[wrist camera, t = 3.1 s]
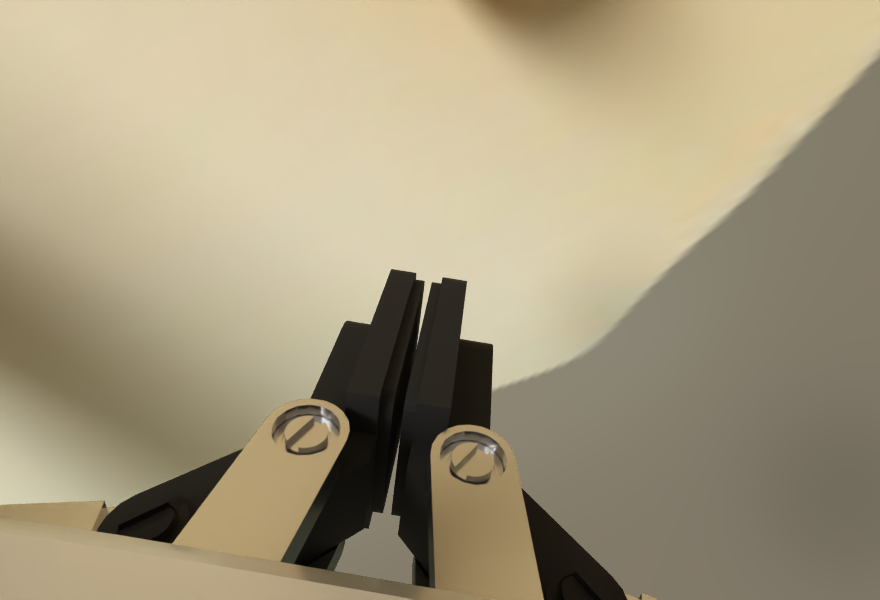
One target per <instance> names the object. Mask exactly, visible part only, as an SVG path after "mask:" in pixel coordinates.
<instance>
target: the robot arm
mask: <svg viewBox="0 0 880 600" xmlns="http://www.w3.org/2000/svg"><path fill="white" fill-rule="evenodd" d="M466 285H467V281H462V280H456V279H450V278H444V277H443V279H442V283H441V284H440V283H434V282H432V285H431V289H430V293H429V298H428V302H427V306H426V311H425V315H424V319H423V323H422V328H421V332H420V336H419V341H418V345H417V340H418V332H419V324H420V316H421V308H422V300H423V292H424V281H421V280H416V273H412V272H406V271H400V270H393V269H392V270H391V271H390V274H389V277H388V279H387V282H386V285H385V287H384V290H383V293H382V295H381V298H380V301H379V303H378V306H377V309H376V312H375V314H374V317H373V320H372V322H371V325H370V324H364V323H358V322H351V321H346V322H345V323H344V325H343V327H342V329H341V331H340V334H339V336H338V338H337V340H336V343H335V345H334V347H333V349H332V352H331V354H330V356H329V358H328V361H327V363H326V365H325V367H324V370H323V372H322V374H321V376H320V379H319V381H318V383H317V385H316V388H315V390H314V392H313V394H312V397H311V399H299V400H296V401H292V402H289V403H286V404H284V405H282V406H281V407H279V408H277V409H275V410H274V411H273V412H272V413H271V414H270V415H269V416H268V417H267V419H266V420H265V421H264V422H263V424H262V425H261V426H260V428H259V429H258V430H257V432H256V433H255V434H254V436H253V437H252V438H251V440H250V441H249V442H248V444H247V445H246V446H245V448H244V449H241V450H239V451H237V452H234V453H232V454H230V455H227V456H225V457H223V458H220V459H218V460H216V461H213V462H211V463H209V464H206V465H204V466H202V467H199V468H197V469H195V470H192V471H190V472H188V473H186V474H183V475H181V476H179V477H176V478H174V479H172V480H169V481H167V482H165V483H162V484H160V485H158V486H155V487H153V488H151V489H148V490H146V491H144V492H141V493H139V494H137V495H135V496H133V497H131V498H129V499H128V500H126V501H124V502H122V503H120V504H119V505H118V506H117V507H108V508H107V507H106V504H105V501H89V502H63V503H37V504H10V505H0V600H658V599H656V598H653V597H651V596H648V595H646V594H643V593H642V594H641V595H640V597H639V599H638V598H635V597H633V596H630V595H628V594H625V593H624V591H623V589H622V588H621V587H620V586H619V585H618V583H617V582H616V581H615V580H614V578H613V577H612V576H611V575H610V574H609V573H608V572H607V571H606V570H605V569H604V568H603V567H602V566H601V565H600V564H599V563H598V562H597V561H596V560H595V559H594V558H593V557H592V556H591V555H590V554H589V553H587V552H586V551H585V550H584V549H583V548H582V547H581V546H580V545H579V544H578V543H577V542H576V541H575V540H574V539H573V538H572V537H571V536H570V535H569V534H568V533H567V532H566V531H565V530H564V529H563V528H562V527H561V526H560V525H559V524H558V523H557V522H556V521H555V520H554V519H553V518H552V517H551V516H550V515H548V513H547V512H546V511H545V510H543V509H542V508H541V507H540V506H539V505H538V504H537V503H536V502H535V501H534V500H533V499H532V498H531V497H530V496H529V495H528V494H527V493H526V492H525V491H524V490H523V489H522V488H521V484H520V478H519V473H518V469H517V464H516V459H515V456H514V454H513V451H512V448H511V447H510V446H509V445H508V443H507V442H506V441H505V440H504V439H503V438H502V437H500V436H499V435H498V434H496V433H495V432H493V431H491V430H490V416H491V390H492V363H493V345H492V344H487V343H481V342H475V341H469V340H463V339H460V333H461V325H462V317H463V309H464V301H465V293H466ZM416 348H417V349H416ZM399 439H400V445H399V453H398V461H397V470H396V478H395V487H394V495H393V504H392V513H391V514H392V515H397V516H400V524H399V531H398V535H399V537H400V538H401V539H402V541H403V542H404V543H405V544H406V546H407V547H408V548H409V550H410V551H411V552H412V554H413V555H414V558H413V564H412V585H411V584H405V583H399V582H393V581H388V580H381V579H376V578H370V577H364V576H358V575H353V574H347V573H341V572H336V571H334V570H335V568H336V566H337V563H338V561H339V559H340V557H341V555H342V551H343V548H344V544H345V540H346V539H348V538H349V537H351V536H353V535H354V534H356V533H357V532H359V531H361V530H363V529H364V528H369V525H370V521H371V516H372V512H379V513H383V510H384V506H385V502H386V497H387V493H388V488H389V484H390V479H391V474H392V470H393V466H394V461H395V457H396V453H397V448H398V443H399Z"/></svg>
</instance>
